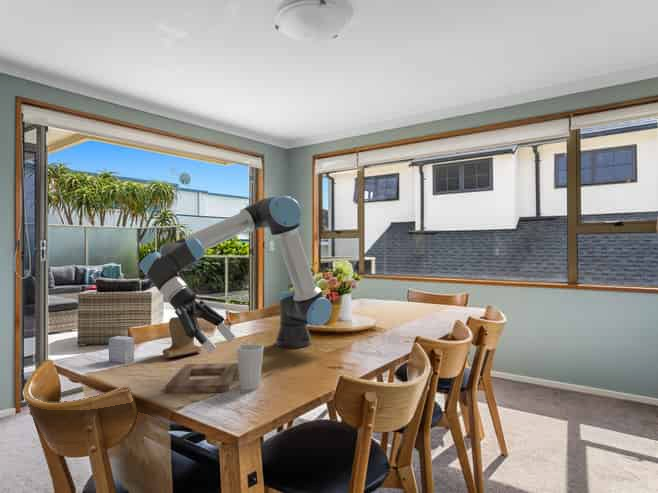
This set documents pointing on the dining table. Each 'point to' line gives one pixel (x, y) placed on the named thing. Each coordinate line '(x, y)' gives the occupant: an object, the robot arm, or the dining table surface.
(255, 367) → the cup
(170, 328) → the wooden stamp
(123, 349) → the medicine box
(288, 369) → the dining table surface
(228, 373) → the board
